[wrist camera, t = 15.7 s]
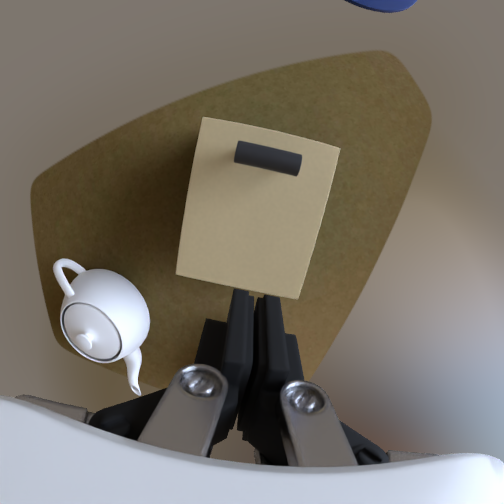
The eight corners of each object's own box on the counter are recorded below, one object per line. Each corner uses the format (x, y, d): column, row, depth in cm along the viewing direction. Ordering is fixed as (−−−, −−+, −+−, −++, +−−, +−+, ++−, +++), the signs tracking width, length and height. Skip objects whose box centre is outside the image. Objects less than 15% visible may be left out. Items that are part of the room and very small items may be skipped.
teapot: (53, 263, 40) (13, 292, 30) (111, 225, 38) (70, 251, 27) (125, 368, 46) (104, 411, 36) (188, 349, 44) (174, 398, 34)
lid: (204, 117, 25) (192, 111, 20) (338, 148, 26) (355, 148, 21) (177, 271, 30) (163, 293, 25) (296, 296, 31) (303, 321, 26)
